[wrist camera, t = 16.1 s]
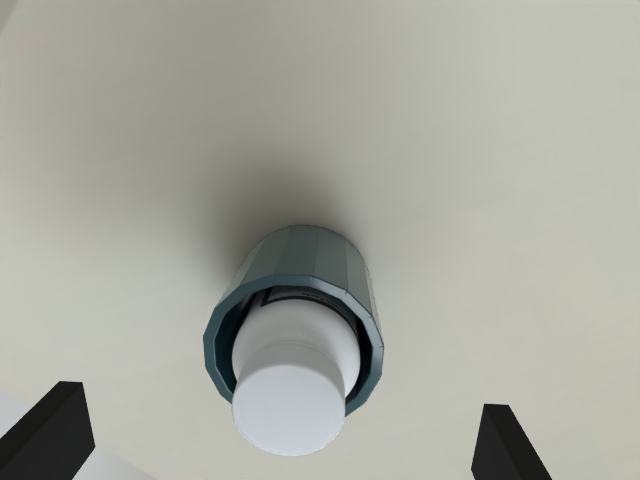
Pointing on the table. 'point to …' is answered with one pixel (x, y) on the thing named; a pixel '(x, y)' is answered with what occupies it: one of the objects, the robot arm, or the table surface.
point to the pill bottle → (294, 369)
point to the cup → (298, 270)
